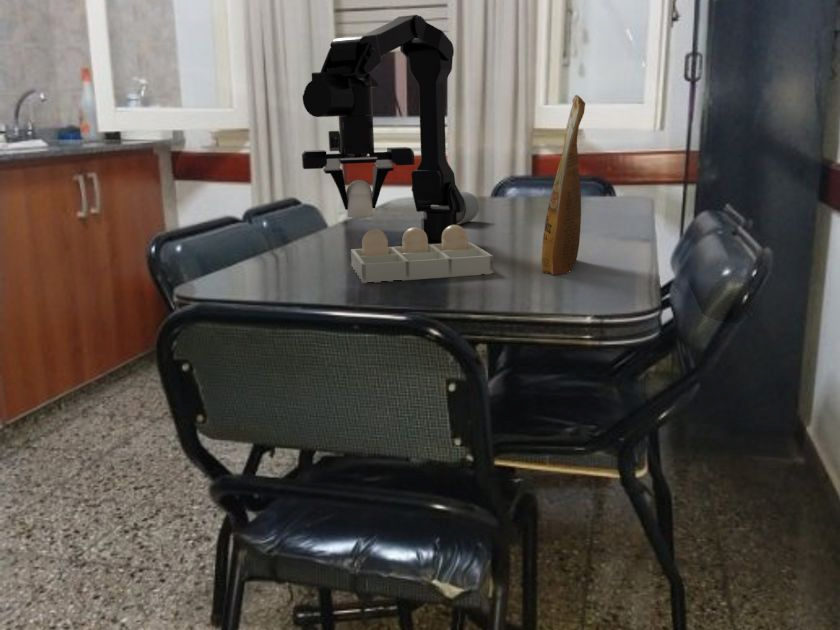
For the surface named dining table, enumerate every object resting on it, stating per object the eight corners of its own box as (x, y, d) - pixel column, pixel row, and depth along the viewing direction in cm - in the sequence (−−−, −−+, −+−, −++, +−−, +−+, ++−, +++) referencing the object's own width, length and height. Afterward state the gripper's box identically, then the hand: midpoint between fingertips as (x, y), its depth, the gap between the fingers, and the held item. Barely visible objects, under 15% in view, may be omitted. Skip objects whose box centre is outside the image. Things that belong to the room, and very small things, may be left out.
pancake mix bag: (588, 256, 141) (592, 94, 134) (579, 278, 123) (583, 93, 116) (550, 255, 143) (552, 96, 136) (536, 277, 125) (538, 95, 118)
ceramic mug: (481, 221, 187) (480, 189, 185) (467, 226, 180) (466, 192, 178) (441, 220, 192) (440, 189, 190) (426, 225, 185) (425, 192, 183)
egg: (371, 214, 138) (369, 178, 137) (374, 217, 134) (372, 180, 132) (346, 215, 137) (344, 179, 136) (348, 218, 133) (346, 181, 132)
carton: (469, 258, 142) (469, 220, 140) (493, 273, 128) (493, 232, 126) (351, 266, 138) (349, 227, 136) (362, 283, 124) (360, 240, 122)
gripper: (402, 114, 141) (405, 201, 145) (298, 117, 138) (304, 206, 142) (413, 114, 130) (416, 208, 134) (300, 117, 127) (306, 213, 131)
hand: (360, 208), depth 135 cm, fingers closed on egg, 4 cm apart
